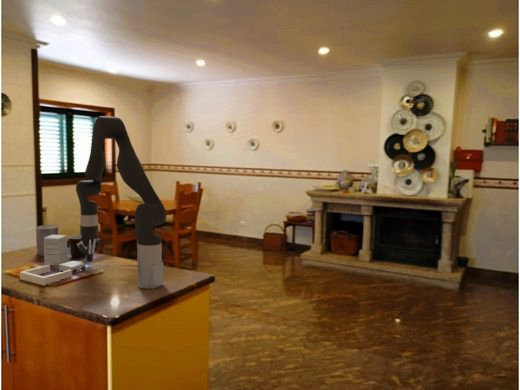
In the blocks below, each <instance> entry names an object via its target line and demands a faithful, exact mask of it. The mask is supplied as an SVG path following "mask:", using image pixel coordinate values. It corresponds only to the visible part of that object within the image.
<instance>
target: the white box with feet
mask: <svg viewBox="0 0 520 390" xmlns="http://www.w3.org/2000/svg"><path fill="white" fill-rule="evenodd" d="M86 264H87V262H85V261H80V260H70V261H67V262H65V263H63V264H59V265H58V266H59V267H58V270H60V271H59V272H61V271H67V270H71V273H76V272H77V271H80V270H85V269H86V270H87V267H86ZM86 270H85V271H86ZM77 273H78V272H77ZM77 273H76V274H77Z"/></svg>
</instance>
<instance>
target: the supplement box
mask: <svg viewBox="0 0 520 390" xmlns="http://www.w3.org/2000/svg"><path fill="white" fill-rule="evenodd" d="M43 257H44V266H45V265H50V266H59V264H63V263H66V262H69V261H68V235H66V234H58V235H50V236H48V237H45V238H44V256H43Z"/></svg>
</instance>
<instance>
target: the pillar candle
mask: <svg viewBox="0 0 520 390" xmlns="http://www.w3.org/2000/svg"><path fill="white" fill-rule="evenodd" d="M50 235H59V226H58V225H57V224H49V223H47V224H43V225H39V226H36V245H37V246H36V247H37V255H38V256H43V257H44V238H45V237H48V236H50Z"/></svg>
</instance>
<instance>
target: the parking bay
mask: <svg viewBox="0 0 520 390" xmlns="http://www.w3.org/2000/svg"><path fill="white" fill-rule="evenodd" d="M46 272H48V273H50V272H51V265H45V264H44V265H42V266H38V267H34V268H30V269H26V270H22V271H20V272H19V278H20V280H22V281H25V282H29V283H33V284H36V285H40V286H47V285H46V284H48V285H50V284H49V283H51V284H53V283H52V282H54V283H56V282H55V281H57V282H59V281H58V280H61V279H64V278H67V277H71V276H72V275H73V274H72V273H71V270H67V271H63V272H61V271H59V272H57V273H56V272H55V273H54V274H50V275H45V276H44V275H43V274H42V273H45V274H47V273H46ZM38 274H41V275H38ZM72 277H73V276H72ZM72 277H71V278H72ZM67 279H68V278H67ZM64 280H65V279H64ZM61 281H62V280H61Z"/></svg>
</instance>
